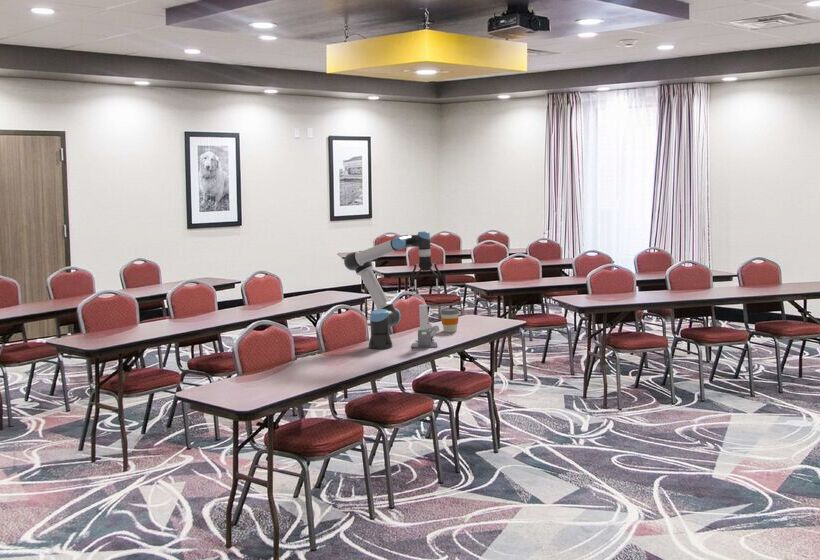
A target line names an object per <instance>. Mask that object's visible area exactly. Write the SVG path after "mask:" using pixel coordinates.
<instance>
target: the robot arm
mask: <svg viewBox="0 0 820 560" xmlns="http://www.w3.org/2000/svg"><path fill="white" fill-rule="evenodd" d="M413 247H414V248H415V247H417V248H418V256H419V257H418V264H417V263H414V264H413V265H414V267H413V269H412V272H411V274H410V277H409V279H410V280H412V285H413V286H414V290H415V291H417V279H416V278H417V277H418V275H420V273H421V272H422V271H423V272H424V271H426V272H427V271H429V272H431V273H432V274H433V275H434V277H436V279H435V281H436V284H435V285H436V287H435V288H436V290H439V284H440V279H441V278H442V277H443V276H442V274H441V272H440V270H439V269H438V266H437V263H436V262H435V263H432V256H431V255H432V252H431V251H432V249H431V235H430V231H425V230H424V231H423V230H422V231H418V232H417V234H402V235H401V236H396V237H394V238H392V239H390V240H387V241H385V242H382V243H380V244H377V245H375V246H372V247H370V248H366V249H364V250H358V251H354V252H353V251H352V252H350V253H348V254H346V256H345V257H344V259H343V264H344V266H345V268H347V269H348V270H349V271H355V273H356V275H357V276H360V278H361V279H362V281H363V284H364V286H365V288H366V289H367V291H368V293H369V296H370V297H371V299H372V302H373V303H374V305H375V307H376V309H373V310H372V311H371V312H370V313H369V322H370V324H369V325H370V337H369V342H368V348H369V349H372V350H385V349H390V348H392V347H393V341H392V338H391V336H390V328H392V327H395V326H397V325H398V324H399V323H400V321H401V319H402V314H401V312H400V310H399V309H398V308H396V307H395V306H394V305H393V303H392V302H389V300H388V298H387V296H386V294H385V292H384V290H383V288H382V287H381V285H380V283H379V281H378V279H377V276H376V275H375V273H374V271H373V268H374V266H373V260H374V261H375V260H377V259H378V258H382V257H384V256H387V255H389V254H391V253H394V252H397V251H399V250H402V249H407V248H413ZM432 267H434V268H435V271H436V272H435V271H434V270H433V269H432ZM417 268H419V269H418V271H417V272H416V270H417ZM415 272H416V274H415ZM414 274H415V275H414Z"/></svg>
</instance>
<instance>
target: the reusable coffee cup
mask: <svg viewBox="0 0 820 560" xmlns="http://www.w3.org/2000/svg"><path fill="white" fill-rule="evenodd" d="M459 313H460V311H459V308H455V307H446V308H445V307H444V308H441V309H440V315H441V316H440V317H441V318H440V320H441V324H442V328H443V332H444V333H455V332H457V330H458V329H457V328H458V324H459Z"/></svg>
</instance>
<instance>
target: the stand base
mask: <svg viewBox="0 0 820 560" xmlns="http://www.w3.org/2000/svg"><path fill="white" fill-rule="evenodd" d="M431 340H432V339H431V332H430V329H428V331H423V332H420V329H417V342H412V343H411V349H431V348H432V349H435V348H438V342H437V341H434V342H432V341H431Z"/></svg>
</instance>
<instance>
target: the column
mask: <svg viewBox="0 0 820 560" xmlns="http://www.w3.org/2000/svg"><path fill="white" fill-rule="evenodd" d="M418 308H419V310H418V311H419V330H420V332H423V331H428V324H429V322H428V321H429V318H428V304H419V305H418Z"/></svg>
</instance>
